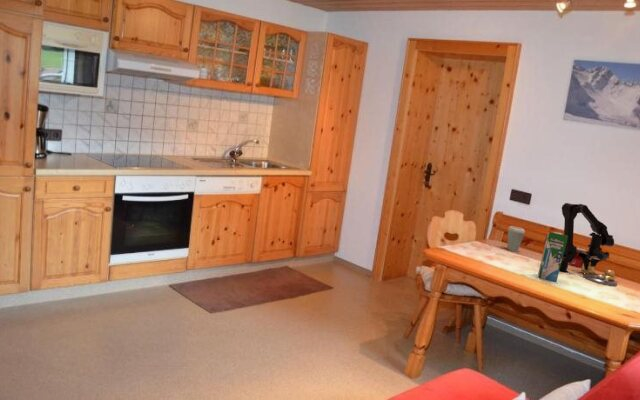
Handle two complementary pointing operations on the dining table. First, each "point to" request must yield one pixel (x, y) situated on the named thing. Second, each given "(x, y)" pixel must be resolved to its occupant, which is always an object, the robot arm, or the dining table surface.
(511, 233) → the disposable coffee cup
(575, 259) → the canned food
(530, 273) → the dining table surface
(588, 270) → the tan rounded lump
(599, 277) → the carrier
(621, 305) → the dining table surface
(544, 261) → the milk carton
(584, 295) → the dining table surface
